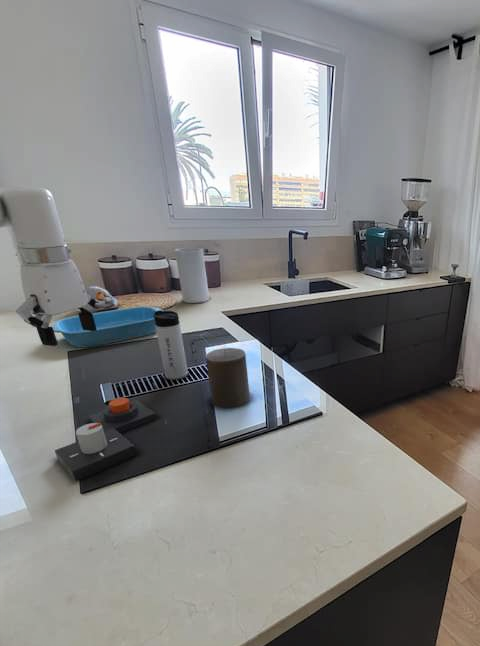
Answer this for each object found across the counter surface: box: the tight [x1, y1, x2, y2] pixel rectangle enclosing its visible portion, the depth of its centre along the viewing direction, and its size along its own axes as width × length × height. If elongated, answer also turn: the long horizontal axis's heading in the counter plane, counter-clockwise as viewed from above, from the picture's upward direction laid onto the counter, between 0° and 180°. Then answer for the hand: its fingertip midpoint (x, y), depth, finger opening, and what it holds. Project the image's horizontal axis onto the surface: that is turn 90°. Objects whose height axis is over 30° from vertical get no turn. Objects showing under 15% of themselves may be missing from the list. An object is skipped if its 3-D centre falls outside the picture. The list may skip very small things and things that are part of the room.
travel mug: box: [154, 309, 189, 381], centre depth 113 cm, size 6×7×20 cm
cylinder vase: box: [174, 247, 210, 304], centre depth 194 cm, size 12×12×25 cm
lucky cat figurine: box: [87, 285, 120, 313], centre depth 177 cm, size 15×12×14 cm
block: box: [87, 399, 157, 434], centre depth 93 cm, size 11×10×4 cm
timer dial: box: [75, 423, 107, 454], centre depth 78 cm, size 4×4×5 cm
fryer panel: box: [54, 428, 137, 482], centre depth 80 cm, size 11×10×3 cm
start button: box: [108, 397, 130, 413], centre depth 92 cm, size 4×4×2 cm
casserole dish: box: [50, 306, 164, 348], centre depth 148 cm, size 37×22×7 cm, turn 134°
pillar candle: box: [205, 347, 251, 409], centre depth 101 cm, size 10×10×15 cm
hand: (71, 337), depth 84 cm, fingers open, 9 cm apart
